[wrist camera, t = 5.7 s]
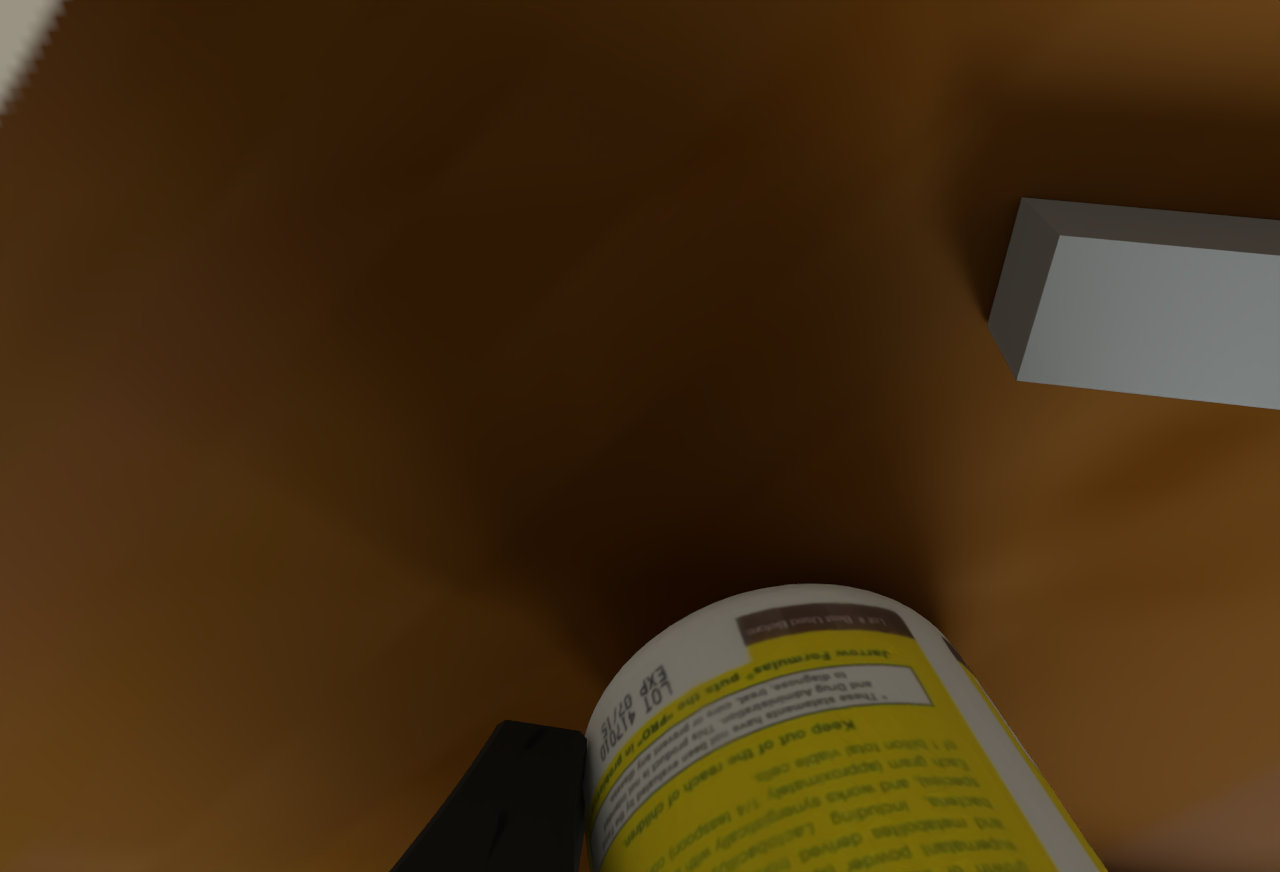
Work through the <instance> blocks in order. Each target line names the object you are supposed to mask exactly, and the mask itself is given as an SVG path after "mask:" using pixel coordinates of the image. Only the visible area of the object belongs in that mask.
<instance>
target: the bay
mask: <svg viewBox="0 0 1280 872" xmlns="http://www.w3.org/2000/svg"><path fill="white" fill-rule="evenodd" d="M987 328H988V330H989V331H990V333H991V335H992V337H993V339H994V340H995V342H996V344H997V346H998V348H999V350H1000V351H1001V353H1002V355H1003V357H1004V359H1005V360H1006V362H1007V364H1008V366H1009V368H1010V370H1011V371H1012V373H1013V375H1014V377H1015V379H1016V380H1017V381H1025V382H1034V383H1043V384H1053V385H1062V386H1071V387H1080V388H1089V389H1098V390H1107V391H1116V392H1125V393H1134V394H1143V395H1152V396H1161V397H1170V398H1179V399H1189V400H1198V401H1207V402H1216V403H1225V404H1234V405H1243V406H1252V407H1261V408H1270V409H1279V410H1280V220H1271V219H1260V218H1248V217H1237V216H1226V215H1215V214H1203V213H1192V212H1181V211H1170V210H1158V209H1147V208H1136V207H1125V206H1113V205H1102V204H1091V203H1080V202H1068V201H1057V200H1046V199H1035V198H1023V197H1022V199H1021V202H1020V206H1019V210H1018V213H1017V217H1016V221H1015V224H1014V228H1013V232H1012V236H1011V239H1010V243H1009V247H1008V250H1007V254H1006V258H1005V261H1004V265H1003V269H1002V272H1001V276H1000V280H999V284H998V287H997V291H996V295H995V298H994V302H993V306H992V309H991V313H990V317H989V320H988V324H987Z"/></svg>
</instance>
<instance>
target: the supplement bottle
mask: <svg viewBox="0 0 1280 872" xmlns="http://www.w3.org/2000/svg"><path fill="white" fill-rule="evenodd" d="M585 737H586V738H587V753H586V761H585V770H584V781H583V791H582V803H583V816H584V828H585V835H586V843H587V850H588V858H589V865H590V872H1108V871H1107V869H1106V868H1105V866H1104V864H1103V863H1102V861H1101V860H1100V859H1099V857H1098V856H1097V855H1096V853H1095V852H1094V850H1093V849H1092V848H1091V846H1090V845H1089V843H1088V842H1087V840H1086V839H1085V837H1084V836H1083V834H1082V833H1081V831H1080V830H1079V829H1078V827H1077V826H1076V824H1075V823H1074V821H1073V820H1072V818H1071V817H1070V815H1069V814H1068V812H1067V811H1066V809H1065V808H1064V806H1063V805H1062V803H1061V802H1060V801H1059V799H1058V797H1057V795H1056V794H1055V792H1054V791H1053V789H1052V788H1051V786H1050V785H1049V784H1048V782H1047V781H1046V779H1045V778H1044V776H1043V775H1042V774H1041V772H1040V770H1039V769H1038V767H1037V765H1036V764H1035V762H1034V761H1033V760H1032V758H1031V757H1030V756H1029V755H1028V753H1027V752H1026V750H1025V749H1024V748H1023V746H1022V745H1021V743H1020V742H1019V740H1018V739H1017V737H1016V736H1015V734H1014V733H1013V731H1012V730H1011V728H1010V727H1009V726H1008V724H1007V723H1006V721H1005V720H1004V718H1003V717H1002V715H1001V714H1000V713H999V711H998V710H997V708H996V707H995V705H994V704H993V702H992V701H991V699H990V698H989V696H988V695H987V694H986V692H985V691H984V689H983V688H982V686H981V685H980V683H979V682H978V680H977V678H976V677H975V675H974V674H973V673H972V671H971V670H970V669H969V667H968V666H967V665H966V664H965V662H964V661H963V659H962V658H961V656H960V655H959V653H958V652H957V650H956V649H955V648H954V647H953V646H952V644H951V643H950V642H949V641H948V640H947V639H946V637H945V636H944V635H943V634H942V633H941V632H940V631H939V630H938V629H937V628H936V627H935V626H934V625H933V624H932V623H930V622H929V621H928V620H927V619H925V618H924V617H922V616H921V615H920V614H918V613H917V612H915V611H914V610H913V609H911V608H909V607H907V606H905V605H903V604H901V603H899V602H897V601H895V600H893V599H891V598H888V597H885V596H883V595H880V594H877V593H874V592H870V591H867V590H863V589H858V588H854V587H849V586H841V585H832V584H789V585H782V586H775V587H768V588H762V589H758V590H753V591H749V592H745V593H741V594H738V595H735V596H731V597H728V598H725V599H723V600H720V601H718V602H715V603H713V604H710V605H708V606H706V607H704V608H702V609H700V610H698V611H696V612H693V613H692V614H690V615H688V616H686V617H685V618H683V619H681V620H679V621H678V622H676V623H674V624H673V625H671V626H669V627H668V628H667V629H665V630H664V631H662V632H661V633H660V634H658V635H657V636H656V637H654V638H653V639H651V640H650V641H649V642H648V643H646V644H645V645H644V646H643V647H642V648H641V649H640V650H639V651H638V652H637V653H635V654H634V655H633V657H632V658H631V659H630V660H629V661H628V662H627V663H626V664H625V665H624V666H623V667H622V668H621V669H620V671H619V672H618V673H617V674H616V676H615V677H614V678H613V680H612V681H611V683H610V684H609V685H608V687H607V688H606V689H605V691H604V693H603V695H602V696H601V698H600V700H599V702H598V704H597V705H596V707H595V709H594V712H593V714H592V716H591V719H590V721H589V724H588V727H587V730H586V733H585Z"/></svg>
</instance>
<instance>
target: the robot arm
mask: <svg viewBox="0 0 1280 872" xmlns="http://www.w3.org/2000/svg"><path fill="white" fill-rule="evenodd" d="M586 753H587V738H586V737H585V736H584V735H583V734H582V733H581V732H580V731H575V730H569V729H562V728H556V727H549V726H543V725H536V724H530V723H524V722H517V721H511V720H505V721H503V722H501V723H500V724H498V725H497V727H496V728H495V730H494V731H493V733H492V735H491V736H490V738H489V739H488V741H487V742H486V744H485V746H484V747H483V749H482V750H481V751H480V753H479V754H478V756H477V757H476V759H475V760H474V762H473V763H472V765H471V766H470V768H469V769H468V770H467V772H466V773H465V775H464V776H463V778H462V779H461V780H460V782H459V783H458V784H457V786H456V787H455V789H454V790H453V791H452V793H451V794H450V795H449V797H448V798H447V799H446V801H445V802H444V803H443V805H442V806H441V807H440V809H439V810H438V811H437V813H436V814H435V815H434V817H433V818H432V819H431V820H430V822H429V823H428V824H427V825H426V827H425V828H424V829H423V830H422V832H421V833H420V834H419V835H418V837H417V838H416V839H415V840H414V842H413V843H412V844H411V846H410V847H409V848H408V849H407V851H406V852H405V853H404V854H403V856H402V857H401V858H400V859H399V861H398V862H397V863H396V864H395V865H394V867H393V868H392V869H391V870H390V871H389V872H578V867H579V860H580V854H581V848H582V842H583V836H584V829H585V828H584V816H583V803H582V791H583V781H584V770H585V761H586Z"/></svg>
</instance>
